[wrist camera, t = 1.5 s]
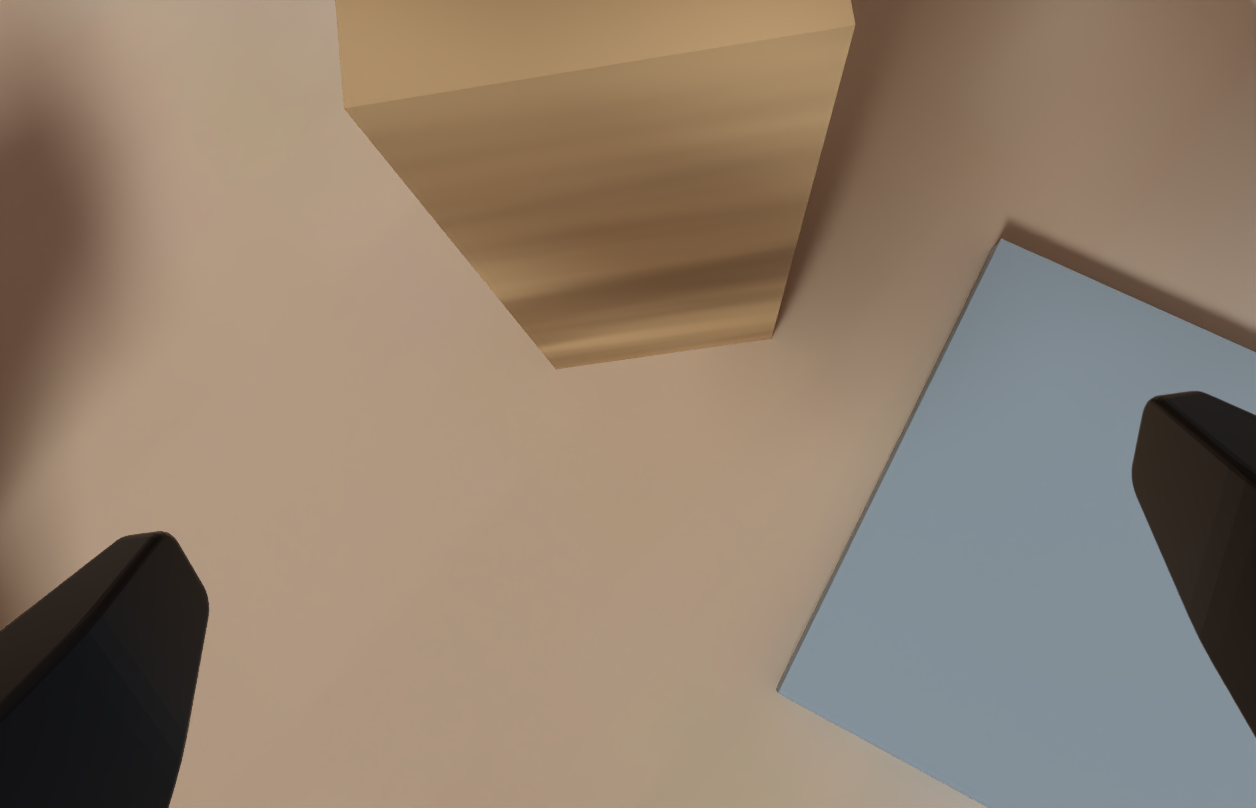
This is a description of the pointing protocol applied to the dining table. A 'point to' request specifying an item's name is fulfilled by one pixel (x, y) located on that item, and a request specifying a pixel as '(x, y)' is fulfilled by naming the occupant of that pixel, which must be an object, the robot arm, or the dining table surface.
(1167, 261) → the dining table surface
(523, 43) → the oak block
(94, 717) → the robot arm
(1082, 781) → the slate pad
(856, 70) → the dining table surface
